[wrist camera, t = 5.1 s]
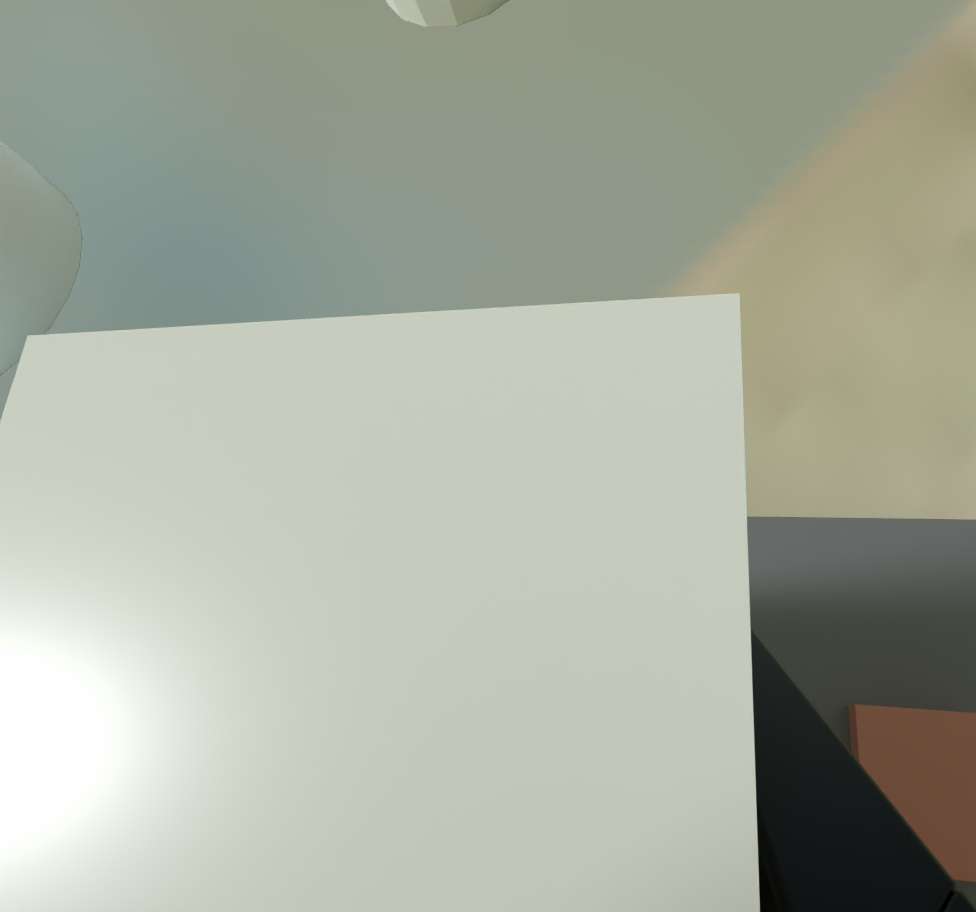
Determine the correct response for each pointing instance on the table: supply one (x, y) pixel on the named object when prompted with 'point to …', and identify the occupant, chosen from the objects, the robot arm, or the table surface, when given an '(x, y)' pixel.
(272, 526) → the block
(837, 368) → the table surface
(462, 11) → the shot glass
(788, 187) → the table surface
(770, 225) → the table surface
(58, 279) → the base with upright slab
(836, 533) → the power strip
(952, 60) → the table surface
